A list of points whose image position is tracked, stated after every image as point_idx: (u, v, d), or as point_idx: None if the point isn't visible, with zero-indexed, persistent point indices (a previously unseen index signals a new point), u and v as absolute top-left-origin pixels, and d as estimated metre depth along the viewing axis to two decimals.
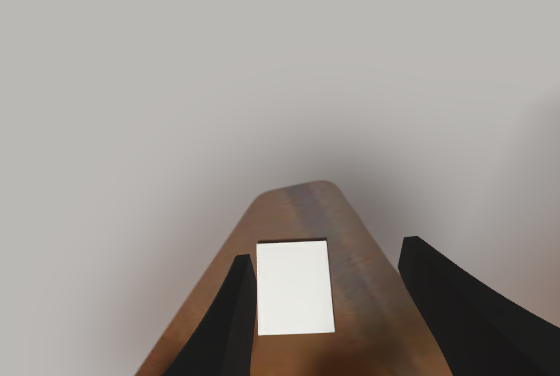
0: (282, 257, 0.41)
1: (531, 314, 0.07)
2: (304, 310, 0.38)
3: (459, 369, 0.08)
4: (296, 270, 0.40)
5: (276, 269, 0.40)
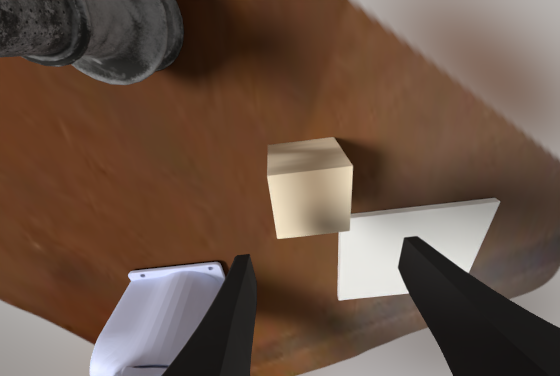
0: (457, 241, 0.23)
1: (531, 314, 0.07)
2: (370, 271, 0.25)
3: (459, 369, 0.08)
4: None
5: (441, 234, 0.23)
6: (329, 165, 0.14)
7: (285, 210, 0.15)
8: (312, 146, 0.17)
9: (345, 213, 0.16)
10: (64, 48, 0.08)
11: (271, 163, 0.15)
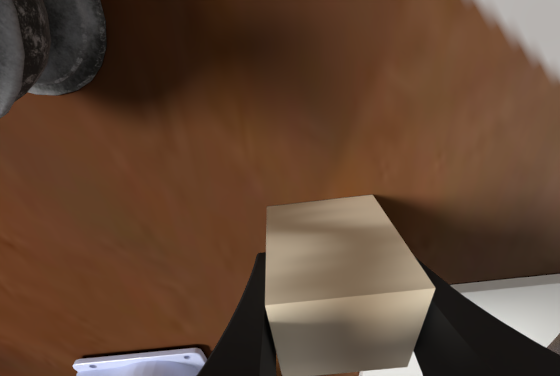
0: (535, 323, 0.17)
1: (493, 318, 0.07)
2: None
3: (429, 372, 0.08)
4: None
5: (514, 316, 0.16)
6: (386, 280, 0.07)
7: (299, 347, 0.08)
8: (342, 216, 0.10)
9: (404, 347, 0.09)
10: None
11: (272, 263, 0.08)
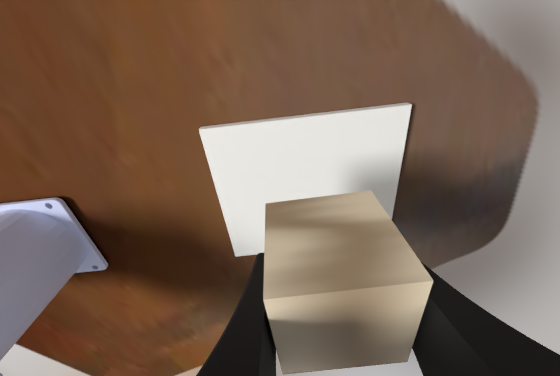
0: (367, 169, 0.18)
1: (494, 318, 0.07)
2: (264, 214, 0.20)
3: (429, 372, 0.08)
4: None
5: (343, 157, 0.17)
6: (384, 273, 0.07)
7: (298, 342, 0.08)
8: (340, 212, 0.10)
9: (404, 342, 0.09)
10: None
11: (271, 258, 0.08)
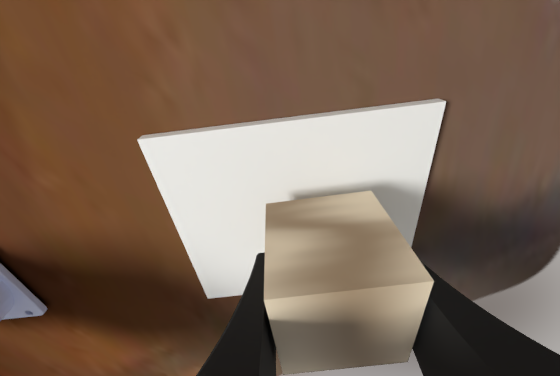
0: (379, 191, 0.13)
1: (494, 318, 0.07)
2: (240, 249, 0.15)
3: (429, 372, 0.08)
4: None
5: (346, 176, 0.12)
6: (384, 274, 0.07)
7: (298, 342, 0.08)
8: (340, 212, 0.10)
9: (404, 342, 0.09)
10: None
11: (271, 258, 0.08)
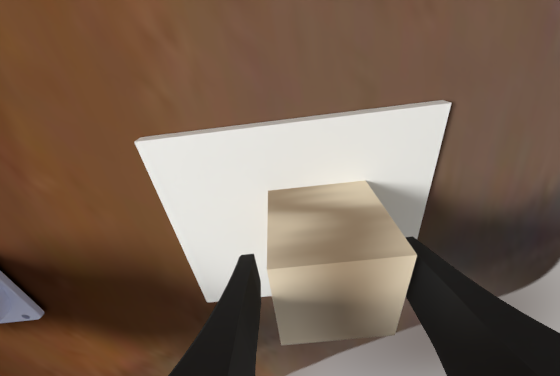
0: (382, 195, 0.13)
1: (524, 315, 0.07)
2: (240, 253, 0.15)
3: (453, 369, 0.08)
4: None
5: (348, 179, 0.12)
6: (374, 249, 0.08)
7: (296, 313, 0.09)
8: (337, 199, 0.11)
9: (391, 314, 0.10)
10: None
11: (273, 236, 0.09)
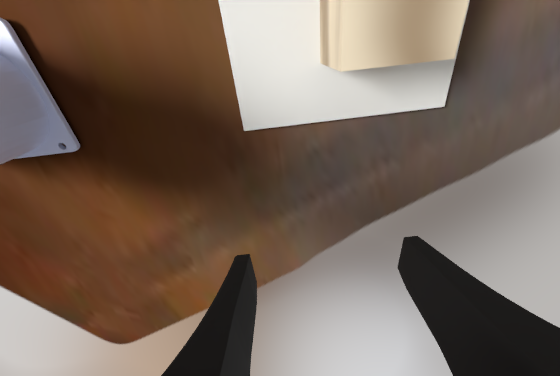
0: None
1: (531, 314, 0.07)
2: (283, 53, 0.15)
3: (459, 369, 0.08)
4: None
5: None
6: None
7: (363, 3, 0.09)
8: None
9: (456, 15, 0.10)
10: None
11: None
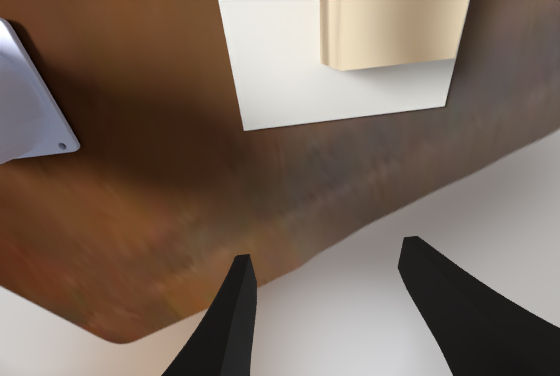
0: None
1: (531, 314, 0.07)
2: (283, 52, 0.14)
3: (459, 369, 0.08)
4: None
5: None
6: None
7: (363, 2, 0.09)
8: None
9: (456, 14, 0.10)
10: None
11: None
